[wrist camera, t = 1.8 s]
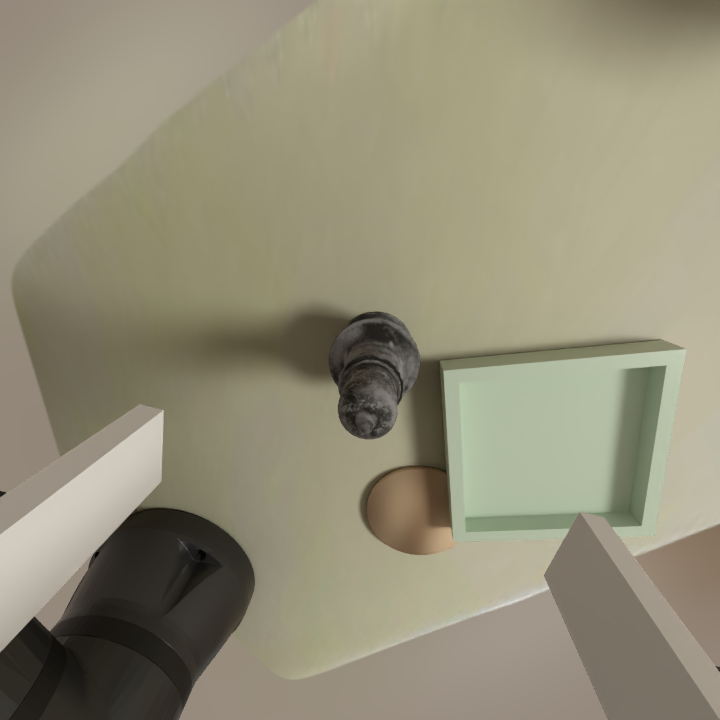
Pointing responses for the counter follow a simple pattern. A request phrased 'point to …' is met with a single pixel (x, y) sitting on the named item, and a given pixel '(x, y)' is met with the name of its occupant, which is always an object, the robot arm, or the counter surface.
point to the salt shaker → (373, 372)
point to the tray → (558, 439)
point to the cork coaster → (412, 510)
